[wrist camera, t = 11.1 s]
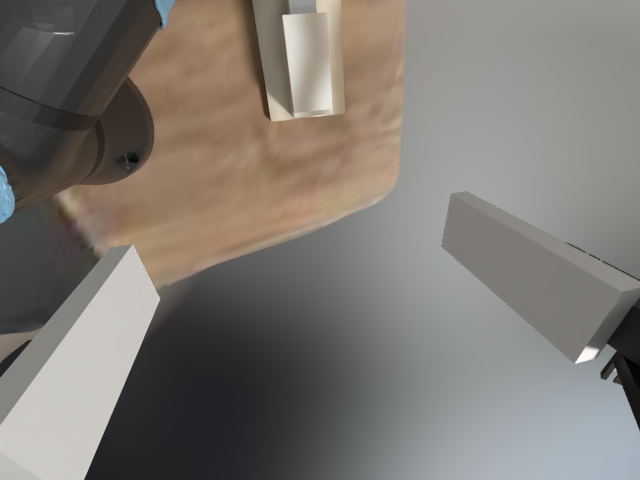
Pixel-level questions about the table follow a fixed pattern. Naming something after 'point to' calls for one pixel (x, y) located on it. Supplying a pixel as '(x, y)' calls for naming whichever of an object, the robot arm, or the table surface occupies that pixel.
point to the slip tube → (301, 6)
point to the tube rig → (301, 59)
